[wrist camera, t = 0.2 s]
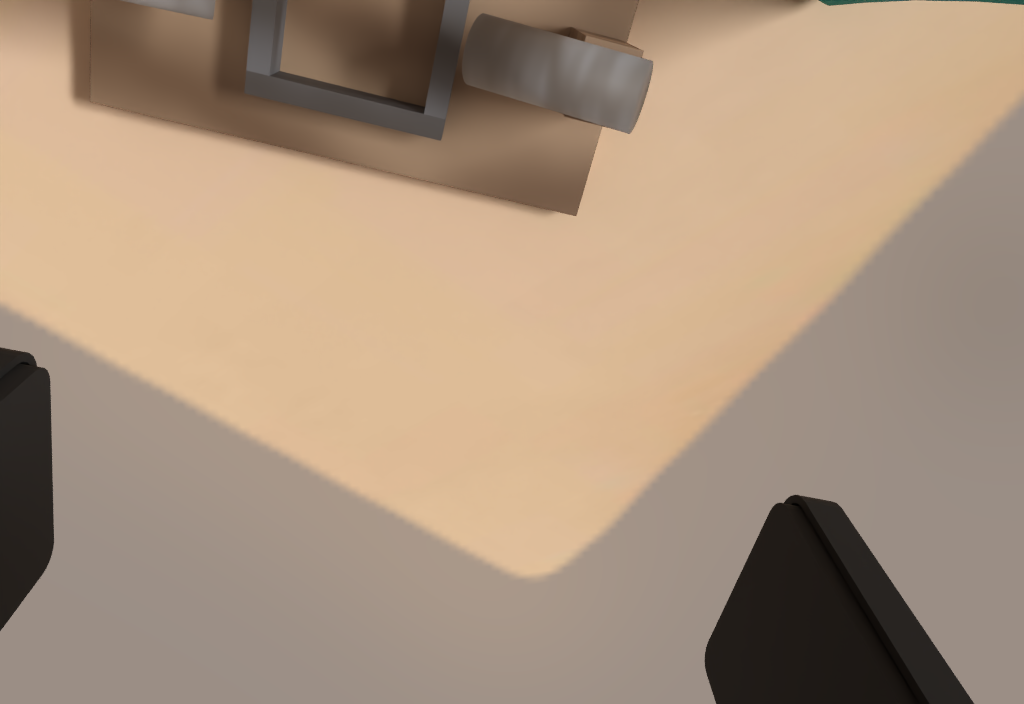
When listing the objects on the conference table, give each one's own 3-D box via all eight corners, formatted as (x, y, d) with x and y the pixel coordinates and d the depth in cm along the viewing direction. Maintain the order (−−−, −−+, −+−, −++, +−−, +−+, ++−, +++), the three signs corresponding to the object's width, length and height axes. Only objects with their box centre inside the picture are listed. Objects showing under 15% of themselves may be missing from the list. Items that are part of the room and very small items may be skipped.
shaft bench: (102, -248, 32) (-53, -339, 22) (662, -83, 35) (725, -104, 26) (98, 96, 38) (-26, 135, 28) (577, 209, 41) (604, 276, 32)
